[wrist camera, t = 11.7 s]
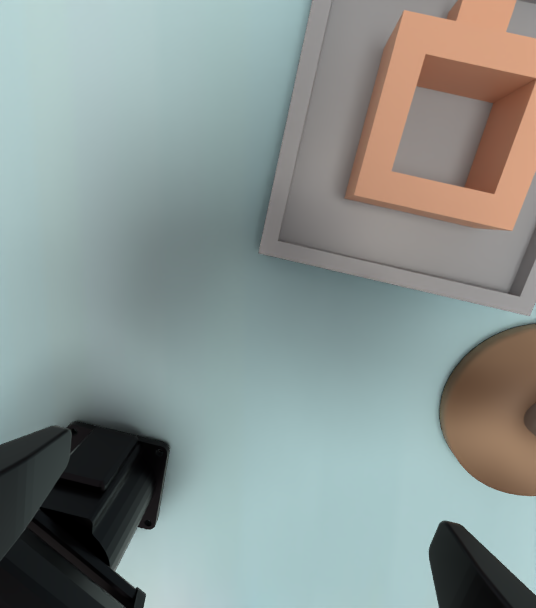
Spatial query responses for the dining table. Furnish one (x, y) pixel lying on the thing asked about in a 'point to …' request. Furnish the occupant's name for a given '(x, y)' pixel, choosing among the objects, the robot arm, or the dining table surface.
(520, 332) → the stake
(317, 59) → the tray
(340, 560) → the dining table surface
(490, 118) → the ring
